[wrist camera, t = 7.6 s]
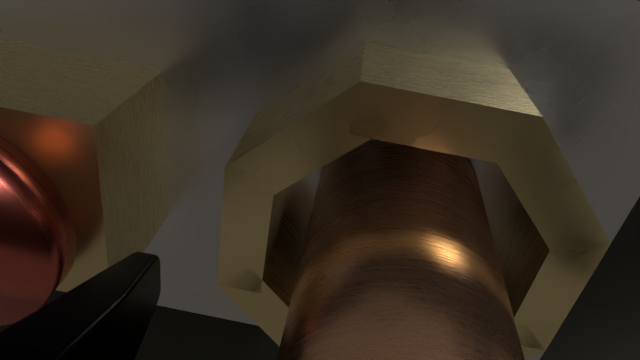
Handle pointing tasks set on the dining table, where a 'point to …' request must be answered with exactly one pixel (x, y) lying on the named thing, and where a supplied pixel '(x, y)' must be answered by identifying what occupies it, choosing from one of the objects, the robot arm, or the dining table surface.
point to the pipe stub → (399, 264)
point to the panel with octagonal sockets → (305, 137)
